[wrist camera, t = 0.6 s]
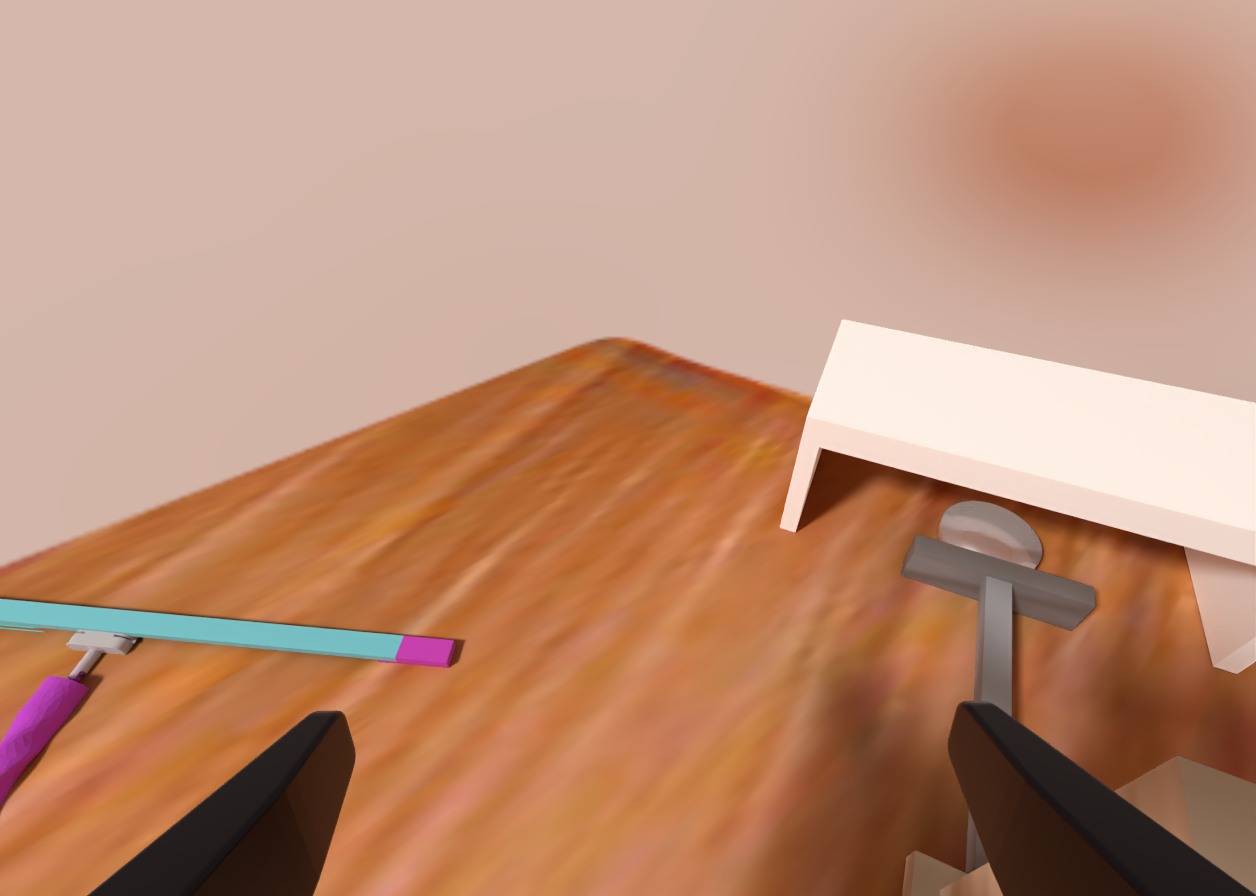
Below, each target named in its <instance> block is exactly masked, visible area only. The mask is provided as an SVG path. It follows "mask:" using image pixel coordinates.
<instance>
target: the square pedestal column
mask: <svg viewBox="0 0 1256 896" xmlns="http://www.w3.org/2000/svg"><path fill="white" fill-rule="evenodd" d="M901 576H904V577H907V578H910V579H913V580H916V581H919V582H923V583H926V584H929V585H932V586H935V587H938V588H941V589H944V590H947V591H950V592H953V593H956V594H960V595H963V596H966V597H969V598H972V599H975V600H978V601H979V603H978V624H977V644H976V665H975V686H974V701H988V702H991V703H993V704H995V705H996V706H998V707H999V708H1001V709H1002V710H1003V711H1005V712H1006V713H1007V714H1009V715H1010V716H1012V612H1015V613H1018V614H1021V615H1024V616H1027V617H1030V618H1034V619H1037V620H1040V621H1043V622H1046V623H1049V624H1052V625H1055V626H1058V627H1061V628H1064V629H1067V630H1070V631H1072V630H1073V629H1074V628H1075V627H1076V626H1077V625H1078V624H1079V623H1080V622H1081V621H1082V620H1083V619H1084V618H1085V617H1086V616H1087V615H1088V614H1089V613H1090V612H1091V611H1092V610H1093V609H1094V608H1095V607H1096V604H1095V595H1094V587H1092V586H1088V585H1085V584H1082V583H1079V582H1075V581H1072V580H1069V579H1065V578H1062V577H1059V576H1055V575H1052V574H1049V573H1045V572H1042V571H1039V570H1035V569H1032V568H1029V567H1025V566H1022V565H1019V564H1015V563H1012V562H1009V561H1006V560H1002V559H999V558H996V557H992V556H989V555H986V554H982V553H979V552H976V551H972V550H969V549H966V548H962V547H959V546H956V545H952V544H949V543H946V542H942V541H939V540H936V539H932V538H929V537H926V536H923V535H919V534H916V536H915V538H914V540H913V542H912V544H911V546H910V548H909V550H908V552H907V554H906V556H905V558H904V560H903V567H902V573H901ZM1115 792H1116V793H1117V794H1119V795H1120V796H1121V797H1123V798H1124V799H1125V800H1127V801H1128V802H1130V803H1131V804H1132V805H1134V806H1135V807H1136V808H1138V809H1139V810H1141V811H1142V812H1143V813H1145V814H1146V815H1147V816H1149V817H1150V818H1152V819H1153V820H1154V821H1156V822H1157V823H1158V824H1160V825H1161V826H1163V827H1164V828H1165V829H1167V830H1168V831H1169V832H1171V833H1172V834H1174V835H1175V836H1176V837H1178V838H1179V839H1180V840H1182V841H1183V842H1185V843H1186V844H1187V845H1189V846H1190V847H1191V848H1193V849H1194V850H1195V851H1197V852H1198V853H1200V854H1201V855H1202V856H1204V857H1205V858H1206V859H1208V860H1209V861H1211V862H1212V863H1213V864H1215V865H1216V866H1217V867H1219V868H1220V869H1222V870H1223V871H1224V872H1226V873H1227V874H1228V875H1230V876H1231V877H1233V878H1234V879H1235V880H1237V881H1238V882H1239V883H1241V884H1242V885H1244V886H1245V887H1246V888H1248V889H1249V890H1250V891H1252V892H1253V893H1255V894H1256V784H1255V783H1252V782H1249V781H1247V780H1244V779H1241V778H1238V777H1236V776H1233V775H1230V774H1227V773H1225V772H1222V771H1219V770H1216V769H1214V768H1211V767H1208V766H1205V765H1203V764H1200V763H1197V762H1194V761H1192V760H1189V759H1186V758H1183V757H1181V756H1178V755H1177V756H1175V757H1173V758H1172V759H1170V760H1168V761H1166V762H1165V763H1163V764H1161V765H1159V766H1158V767H1156V768H1154V769H1152V770H1150V771H1149V772H1147V773H1145V774H1143V775H1142V776H1140V777H1138V778H1136V779H1135V780H1133V781H1131V782H1129V783H1128V784H1126V785H1124V786H1122V787H1121V788H1119V789H1117V790H1115ZM902 896H1003V894H1002V892H1001V890H1000V888H999V885H998V883H997V881H996V879H995V877H994V874H993V872H992V870H991V867H990V865H989V862H988V860H987V857H986V855H985V852H984V849H983V847H982V844H981V841H980V838H979V836H978V833H977V830H976V828H975V825H974V822H973V820H972V817H971V814H970V811H968V832H967V853H966V873H965V872H962V871H960V870H958V869H956V868H954V867H952V866H949V865H947V864H945V863H943V862H941V861H938V860H936V859H934V858H932V857H930V856H928V855H925V854H923V853H921V852H919V851H917V850H915V851H914V852H912V853H911V854H910V855H908V856H907V857H906V865H905V874H904V883H903V893H902Z"/></svg>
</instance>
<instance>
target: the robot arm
mask: <svg viewBox="0 0 1256 896" xmlns="http://www.w3.org/2000/svg"><path fill="white" fill-rule="evenodd" d="M948 752H949V757H950V760H951V763H952V765H953V768H954V771H955V774H956V776H957V779H958V782H959V784H960V787H961V790H962V793H963V795H964V798H965V801H966V803H967V806H968V809H969V811H970V814H971V817H972V820H973V822H974V825H975V828H976V830H977V833H978V836H979V838H980V841H981V844H982V847H983V849H984V852H985V855H986V857H987V860H988V862H989V865H990V867H991V870H992V872H993V874H994V877H995V879H996V881H997V883H998V885H999V888H1000V890H1001V892H1002V894H1003V896H1256V894H1255V893H1253V892H1252V891H1250V890H1249V889H1248V888H1246V887H1245V886H1244V885H1242V884H1241V883H1239V882H1238V881H1237V880H1235V879H1234V878H1233V877H1231V876H1230V875H1228V874H1227V873H1226V872H1224V871H1223V870H1222V869H1220V868H1219V867H1217V866H1216V865H1215V864H1213V863H1212V862H1211V861H1209V860H1208V859H1206V858H1205V857H1204V856H1202V855H1201V854H1200V853H1198V852H1197V851H1195V850H1194V849H1193V848H1191V847H1190V846H1189V845H1187V844H1186V843H1185V842H1183V841H1182V840H1180V839H1179V838H1178V837H1176V836H1175V835H1174V834H1172V833H1171V832H1169V831H1168V830H1167V829H1165V828H1164V827H1163V826H1161V825H1160V824H1158V823H1157V822H1156V821H1154V820H1153V819H1152V818H1150V817H1149V816H1147V815H1146V814H1145V813H1143V812H1142V811H1141V810H1139V809H1138V808H1136V807H1135V806H1134V805H1132V804H1131V803H1130V802H1128V801H1127V800H1125V799H1124V798H1123V797H1121V796H1120V795H1119V794H1117V793H1116V792H1115V791H1113V790H1112V789H1110V788H1109V787H1108V786H1106V785H1105V784H1104V783H1102V782H1101V781H1099V780H1098V779H1097V778H1095V777H1094V776H1093V775H1091V774H1090V773H1088V772H1087V771H1086V770H1084V769H1083V768H1082V767H1080V766H1079V765H1077V764H1076V763H1075V762H1073V761H1072V760H1071V759H1069V758H1068V757H1066V756H1065V755H1064V754H1062V753H1061V752H1060V751H1058V750H1057V749H1055V748H1054V747H1053V746H1051V745H1050V744H1049V743H1047V742H1046V741H1045V740H1043V739H1042V738H1040V737H1039V736H1038V735H1036V734H1035V733H1034V732H1032V731H1031V730H1029V729H1028V728H1027V727H1025V726H1024V725H1023V724H1021V723H1020V722H1018V721H1017V720H1016V719H1014V718H1013V717H1012V716H1010V715H1009V714H1007V713H1006V712H1005V711H1003V710H1002V709H1001V708H999V707H998V706H996V705H995V704H993V703H991V702H988V701H964V702H961V703H960V704H959V705H958V706H957V709H956V712H955V716H954V720H953V723H952V727H951V731H950V735H949V738H948ZM355 756H356V754H355V747H354V743H353V740H352V737H351V733H350V730H349V726H348V723H347V720H346V717H345V715H344V714H343V713H342V712H341V711H316V712H313V713H311V714H309V715H308V716H307V717H305V718H304V719H303V720H302V721H300V722H299V723H298V724H297V725H296V726H294V727H293V728H292V729H291V730H289V731H288V732H287V733H286V734H285V735H283V736H282V737H281V738H280V739H278V740H277V741H276V742H275V743H274V744H272V745H271V746H270V747H269V748H267V749H266V750H265V751H264V752H263V753H261V754H260V755H259V756H258V757H256V758H255V759H254V760H253V761H251V762H250V763H249V764H248V765H247V766H245V767H244V768H243V769H242V770H240V771H239V772H238V773H237V774H236V775H234V776H233V777H232V778H231V779H229V780H228V781H227V782H226V783H225V784H223V785H222V786H221V787H220V788H218V789H217V790H216V791H215V792H214V793H212V794H211V795H210V796H209V797H207V798H206V799H205V800H204V801H202V802H201V803H200V804H199V805H198V806H196V807H195V808H194V809H193V810H191V811H190V812H189V813H188V814H187V815H185V816H184V817H183V818H182V819H180V820H179V821H178V822H177V823H176V824H174V825H173V826H172V827H171V828H169V829H168V830H167V831H166V832H165V833H163V834H162V835H161V836H160V837H158V838H157V839H156V840H155V841H154V842H152V843H151V844H150V845H149V846H147V847H146V848H145V849H144V850H142V851H141V852H140V853H139V854H138V855H136V856H135V857H134V858H133V859H131V860H130V861H129V862H128V863H127V864H125V865H124V866H123V867H122V868H120V869H119V870H118V871H117V872H116V873H114V874H113V875H112V876H111V877H109V878H108V879H107V880H106V881H105V882H103V883H102V884H101V885H100V886H98V887H97V888H96V889H95V890H93V891H92V892H91V893H90V894H89V895H87V896H313V894H314V892H315V889H316V886H317V884H318V881H319V878H320V875H321V872H322V869H323V866H324V863H325V860H326V857H327V854H328V850H329V847H330V844H331V841H332V837H333V834H334V831H335V827H336V824H337V821H338V818H339V814H340V811H341V808H342V805H343V801H344V798H345V795H346V791H347V788H348V785H349V782H350V778H351V775H352V772H353V768H354V764H355Z"/></svg>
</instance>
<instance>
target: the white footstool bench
mask: <svg viewBox="0 0 1256 896" xmlns="http://www.w3.org/2000/svg"><path fill="white" fill-rule="evenodd" d="M822 448H824V449H827V450H831V451H835V452H838V453H842V454H846V455H849V456H853V457H857V458H861V459H864V460H868V461H872V462H875V463H879V464H883V465H886V466H890V467H894V468H897V469H901V470H905V471H908V472H912V473H916V474H919V475H923V476H927V477H930V478H934V479H938V480H941V481H945V482H949V483H953V484H956V485H960V486H964V487H967V488H971V489H975V490H978V491H982V492H986V493H989V494H993V495H997V496H1000V497H1004V498H1008V499H1011V500H1015V501H1019V502H1022V503H1026V504H1030V505H1034V506H1037V507H1041V508H1045V509H1048V510H1052V511H1056V512H1059V513H1063V514H1067V515H1070V516H1074V517H1078V518H1081V519H1085V520H1089V521H1092V522H1096V523H1100V524H1103V525H1107V526H1111V527H1114V528H1118V529H1122V530H1126V531H1129V532H1133V533H1137V534H1140V535H1144V536H1148V537H1151V538H1155V539H1159V540H1162V541H1166V542H1170V543H1173V544H1177V545H1181V546H1184V549H1185V553H1186V558H1187V562H1188V566H1189V570H1190V574H1191V578H1192V582H1193V586H1194V591H1195V595H1196V599H1197V603H1198V607H1199V611H1200V615H1201V619H1202V624H1203V628H1204V632H1205V636H1206V640H1207V644H1208V648H1209V653H1210V657H1211V661H1212V665H1213V667H1216V668H1220V669H1223V670H1226V671H1229V672H1232V673H1235V674H1238V673H1239V672H1241V671H1242V670H1244V669H1245V668H1247V667H1248V666H1250V665H1251V664H1253V663H1255V662H1256V403H1254V402H1249V401H1244V400H1239V399H1233V398H1229V397H1224V396H1219V395H1214V394H1209V393H1204V392H1199V391H1194V390H1189V389H1185V388H1179V387H1175V386H1169V385H1165V384H1160V383H1154V382H1150V381H1145V380H1139V379H1135V378H1130V377H1125V376H1120V375H1115V374H1110V373H1105V372H1101V371H1096V370H1091V369H1086V368H1081V367H1076V366H1071V365H1066V364H1061V363H1056V362H1051V361H1046V360H1041V359H1036V358H1031V357H1026V356H1021V355H1016V354H1012V353H1007V352H1001V351H997V350H992V349H986V348H982V347H977V346H972V345H967V344H962V343H957V342H952V341H947V340H942V339H938V338H932V337H927V336H923V335H918V334H913V333H907V332H903V331H898V330H893V329H887V328H883V327H878V326H873V325H868V324H863V323H858V322H853V321H848V320H842V322H841V325H840V327H839V330H838V333H837V336H836V338H835V341H834V344H833V347H832V349H831V352H830V355H829V358H828V360H827V363H826V366H825V368H824V371H823V374H822V377H821V380H820V382H819V385H818V388H817V390H816V393H815V396H814V399H813V401H812V404H811V407H810V409H809V412H808V415H807V418H806V422H805V426H804V431H803V435H802V439H801V443H800V447H799V451H798V455H797V459H796V463H795V467H794V471H793V475H792V479H791V483H790V488H789V492H788V496H787V500H786V504H785V508H784V512H783V516H782V520H781V524H780V528H782V529H785V530H789V531H792V532H796V529H797V526H798V523H799V520H800V517H801V514H802V511H803V507H804V504H805V501H806V498H807V495H808V492H809V489H810V486H811V483H812V479H813V476H814V473H815V470H816V467H817V464H818V461H819V458H820V454H821V451H822Z"/></svg>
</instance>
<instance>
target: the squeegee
mask: <svg viewBox="0 0 1256 896" xmlns="http://www.w3.org/2000/svg"><path fill="white" fill-rule="evenodd" d="M0 626H12V627H23V628H35V629H36V628H37V627H39V628H49V629H60V630H70V631H77V632H76V633H75V634H74V635H73V637H72V638H71V639H70V640H69V642H68V643H67V644H66V646H68V647H69V648H70V649H72V650H79V651H88V652H87V653H86V655H85V656H84V657H83V658H82V660H81V661H80V662H79V663H78V665H77V666H76V667H75V669H74V670H73V671H72V672H71V674H70V675H69V676H68V678H69V679H66V678H61V677H54V676H50V677H47V678H46V679H45V681H44V682H43V683H42V685H41V686H40V687H39V689H38V690H37V691H36V692H35V694H34V695H33V696H32V697H31V698H30V700H29V701H28V702H27V703H26V704H25V706H24V707H23V708H22V709H21V710H20V712H19V713H18V714H17V716H16V718H15V719H14V721H13V723H12V725H11V727H10V729H9V730H8V732H7V734H6V735H5V737H4V739H3V740H2V742H1V743H0V805H1V803H2V802H3V800H4V799H5V797H6V795H7V794H8V792H9V791H10V789H11V788H12V786H13V785H14V783H15V781H16V780H17V778H18V777H19V776H20V774H21V773H22V772H23V771H24V770H25V768H26V767H27V766H28V764H29V763H30V762H31V761H32V760H33V759H34V758H35V757H36V756H37V755H38V754H39V753H40V752H41V750H42V749H43V748H44V747H45V745H46V744H47V742H48V741H49V740H50V738H51V737H52V736H53V734H54V733H55V732H56V731H57V730H58V729H59V728H60V726H61V725H62V724H63V723H64V722H65V721H66V720H67V718H68V717H69V716H70V714H71V713H72V712H73V710H74V709H75V708H76V706H77V705H78V704H79V702H80V701H81V700H82V698H83V697H84V696H85V694H86V693H87V692H88V690H89V689H90V688H88V687H87V686H85V685H83V684H81V683H78V682H77V681H79V680H80V679H81V678H82V676H83V675H81V674H87V673H88V671H89V670H90V669H91V667H92V666H93V665H94V664H95V662H96V661H97V660H98V658H99V657H100V656H101V655H102V653H104V654H105V653H113V654H124V655H126V654H127V653H128V651H129V650H130V649H131V647H132V646H133V645H134V643H135V642H136V641H137V639H138V638H139V637H144V638H155V639H165V640H176V641H186V642H197V643H207V644H218V645H228V646H239V647H249V648H260V649H271V650H281V651H292V652H302V653H313V654H323V655H334V656H344V657H355V658H365V659H376V660H378V661H379V662H386V663H400V664H410V665H423V666H434V667H445V668H449V665H450V662H451V659H452V656H453V653H454V650H455V647H456V644H455V642H454V640H446V639H435V638H424V637H413V636H402V635H391V634H380V633H369V632H358V631H348V630H337V629H326V628H315V627H304V626H293V625H282V624H271V623H260V622H249V621H238V620H227V619H216V618H205V617H194V616H183V615H172V614H161V613H150V612H139V611H128V610H117V609H107V608H96V607H85V606H74V605H63V604H52V603H41V602H30V601H19V600H8V599H0ZM0 628H2V629H13V630H24V631H36V630H26V629H17V628H6V627H0ZM36 632H45V631H36Z"/></svg>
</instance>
